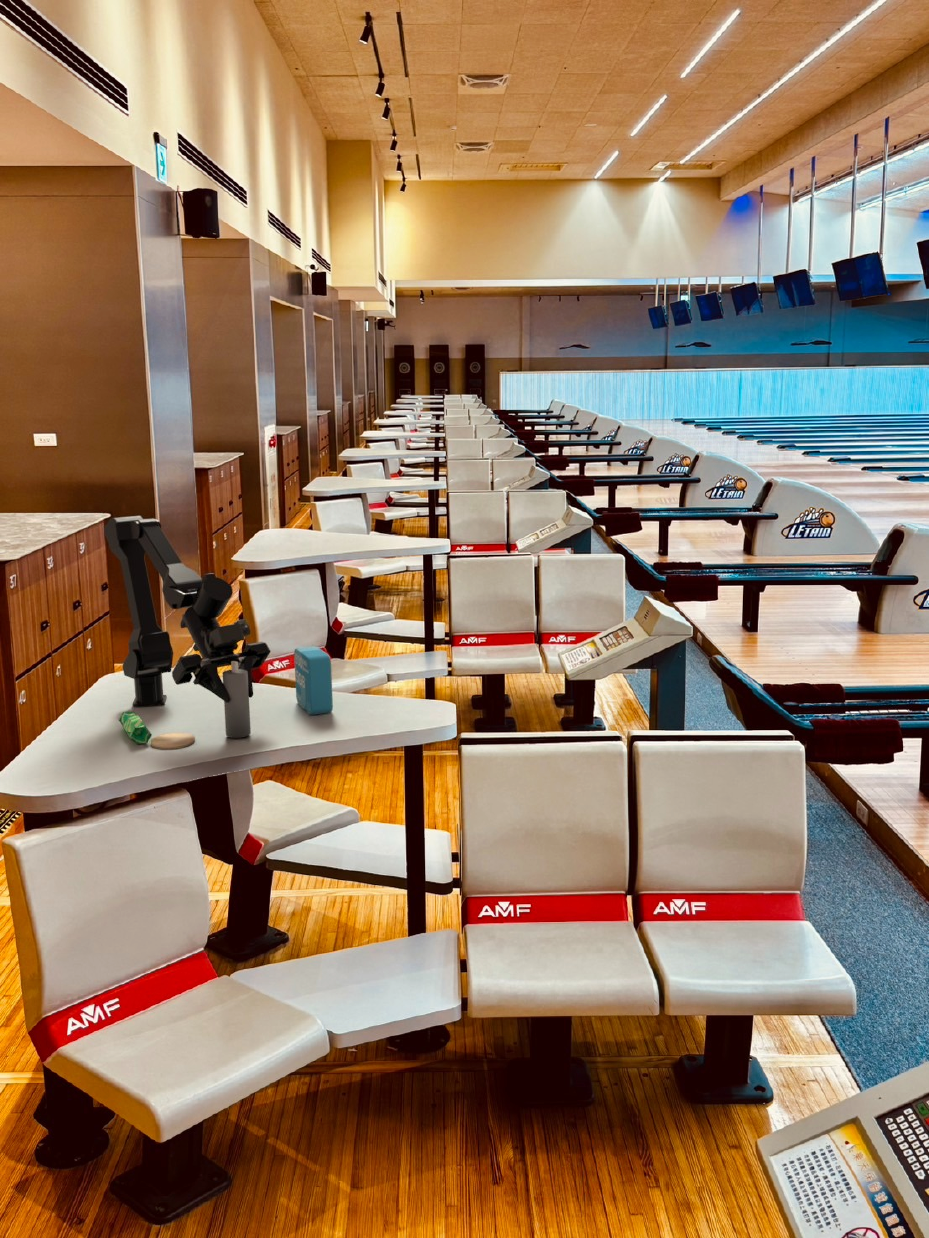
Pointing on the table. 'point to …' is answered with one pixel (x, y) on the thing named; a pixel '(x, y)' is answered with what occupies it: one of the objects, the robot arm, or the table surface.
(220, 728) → the table surface
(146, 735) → the candy
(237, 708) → the charcoal plug
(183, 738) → the cork coaster
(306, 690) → the data package
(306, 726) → the table surface
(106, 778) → the table surface
